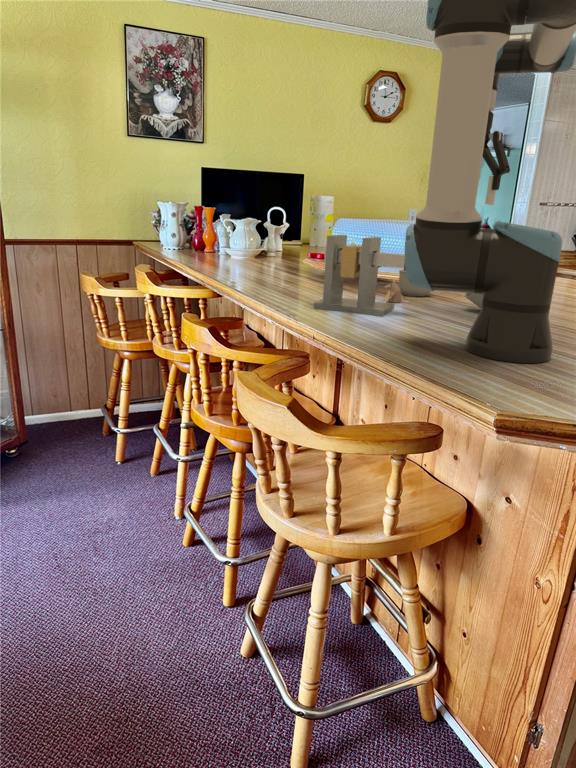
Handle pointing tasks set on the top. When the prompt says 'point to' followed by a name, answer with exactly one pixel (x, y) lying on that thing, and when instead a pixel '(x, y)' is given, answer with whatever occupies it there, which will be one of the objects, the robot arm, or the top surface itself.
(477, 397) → the top surface
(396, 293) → the mouse figurine
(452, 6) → the robot arm
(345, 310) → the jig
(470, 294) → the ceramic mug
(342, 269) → the tan block
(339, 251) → the shaft
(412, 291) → the teacup
